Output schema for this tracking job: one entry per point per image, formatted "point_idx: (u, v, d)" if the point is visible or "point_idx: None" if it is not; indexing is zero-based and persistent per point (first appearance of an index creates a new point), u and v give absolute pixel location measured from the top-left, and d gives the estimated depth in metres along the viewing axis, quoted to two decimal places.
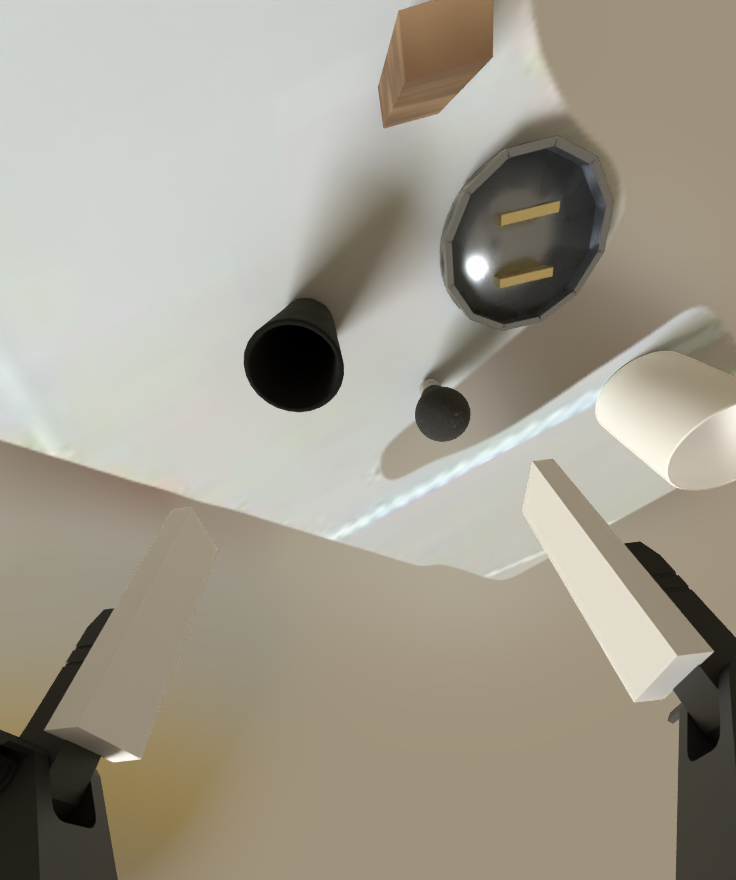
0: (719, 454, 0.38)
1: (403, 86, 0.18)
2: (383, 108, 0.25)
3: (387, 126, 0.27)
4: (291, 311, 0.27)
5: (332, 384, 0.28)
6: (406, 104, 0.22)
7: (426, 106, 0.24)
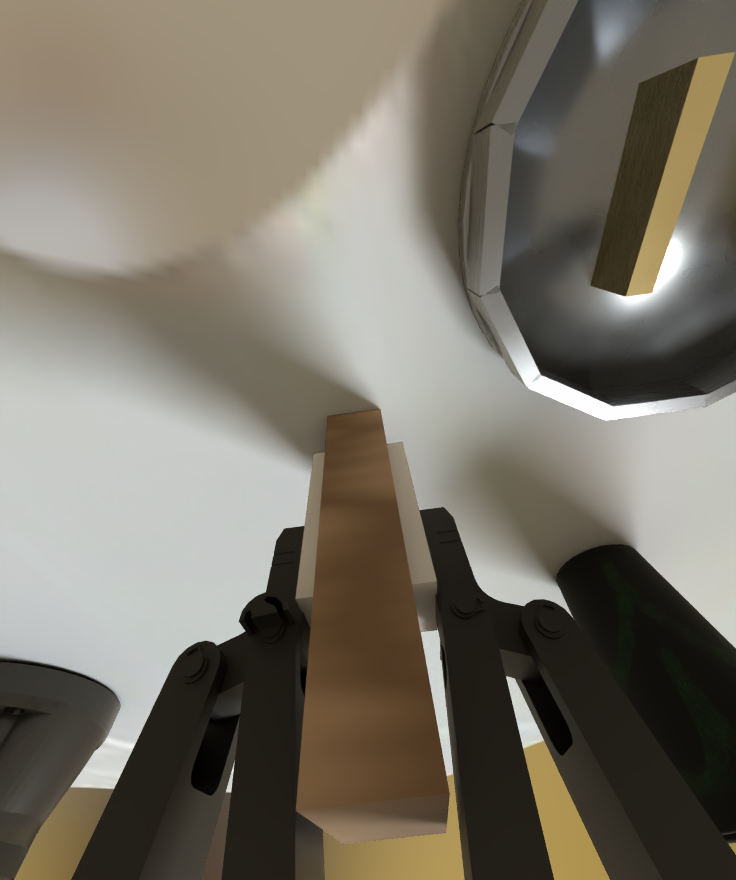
0: None
1: None
2: None
3: None
4: None
5: None
6: None
7: None
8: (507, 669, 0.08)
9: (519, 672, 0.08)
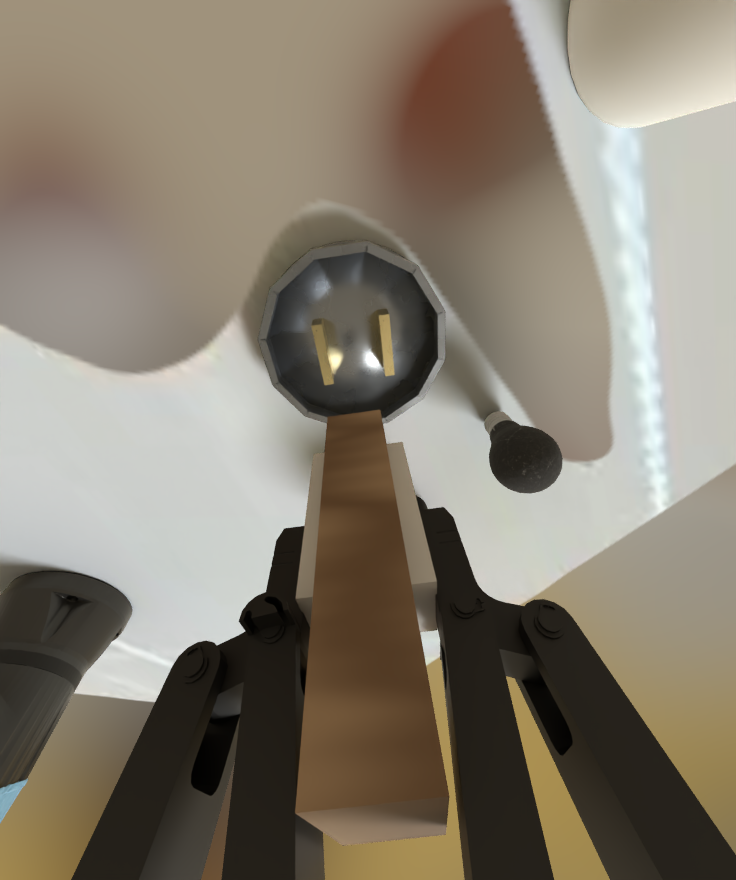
0: None
1: None
2: None
3: None
4: None
5: None
6: None
7: None
8: (507, 669, 0.08)
9: (519, 672, 0.08)
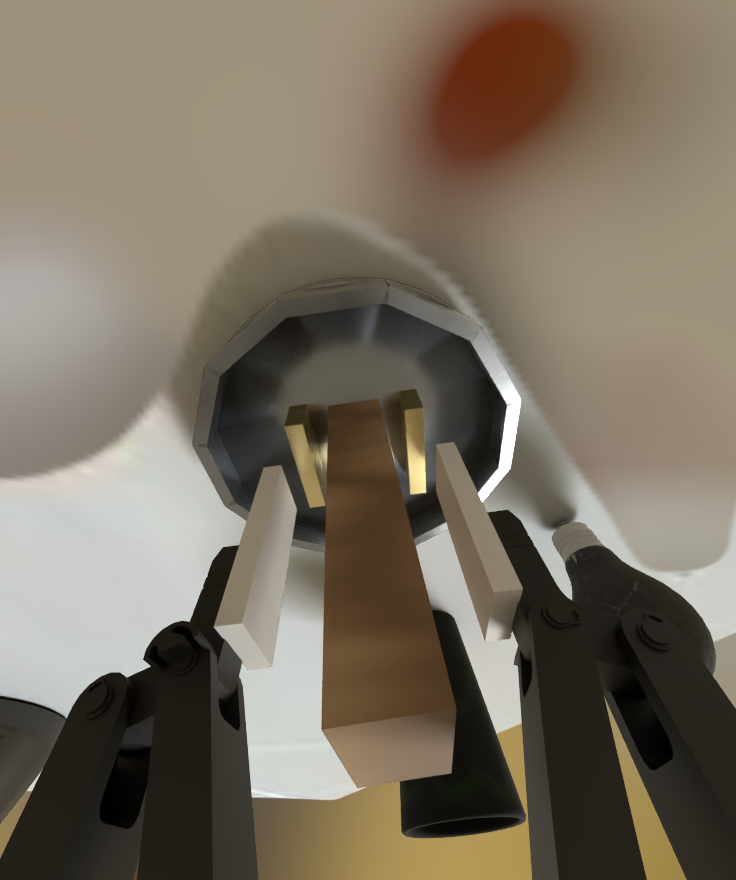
0: None
1: None
2: None
3: None
4: None
5: None
6: None
7: None
8: (602, 682, 0.08)
9: (615, 685, 0.08)
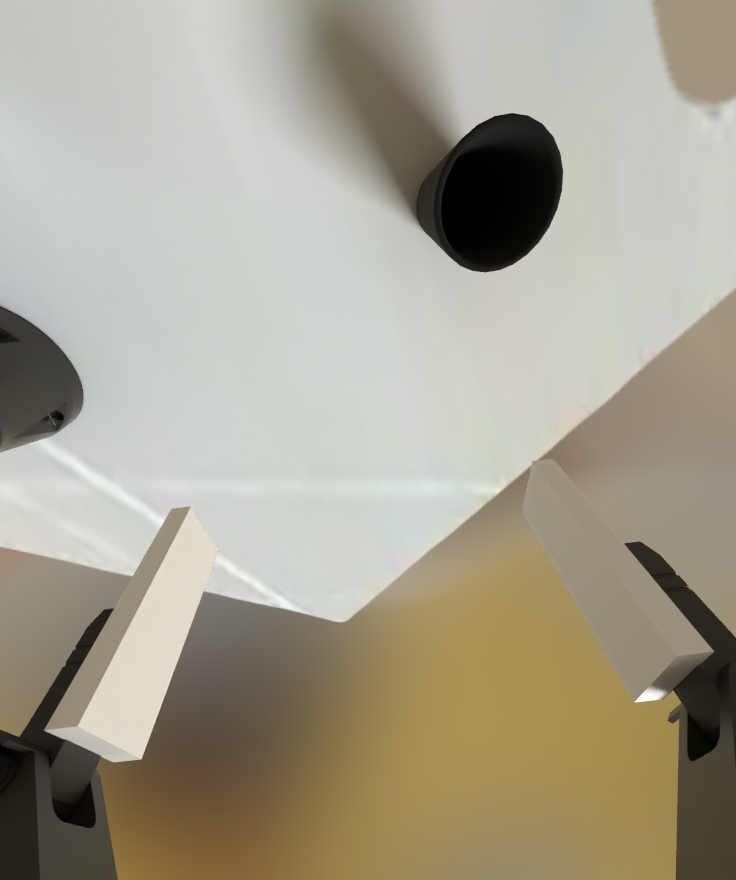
0: None
1: None
2: None
3: None
4: (428, 201, 0.23)
5: (535, 145, 0.19)
6: None
7: None
8: None
9: None
